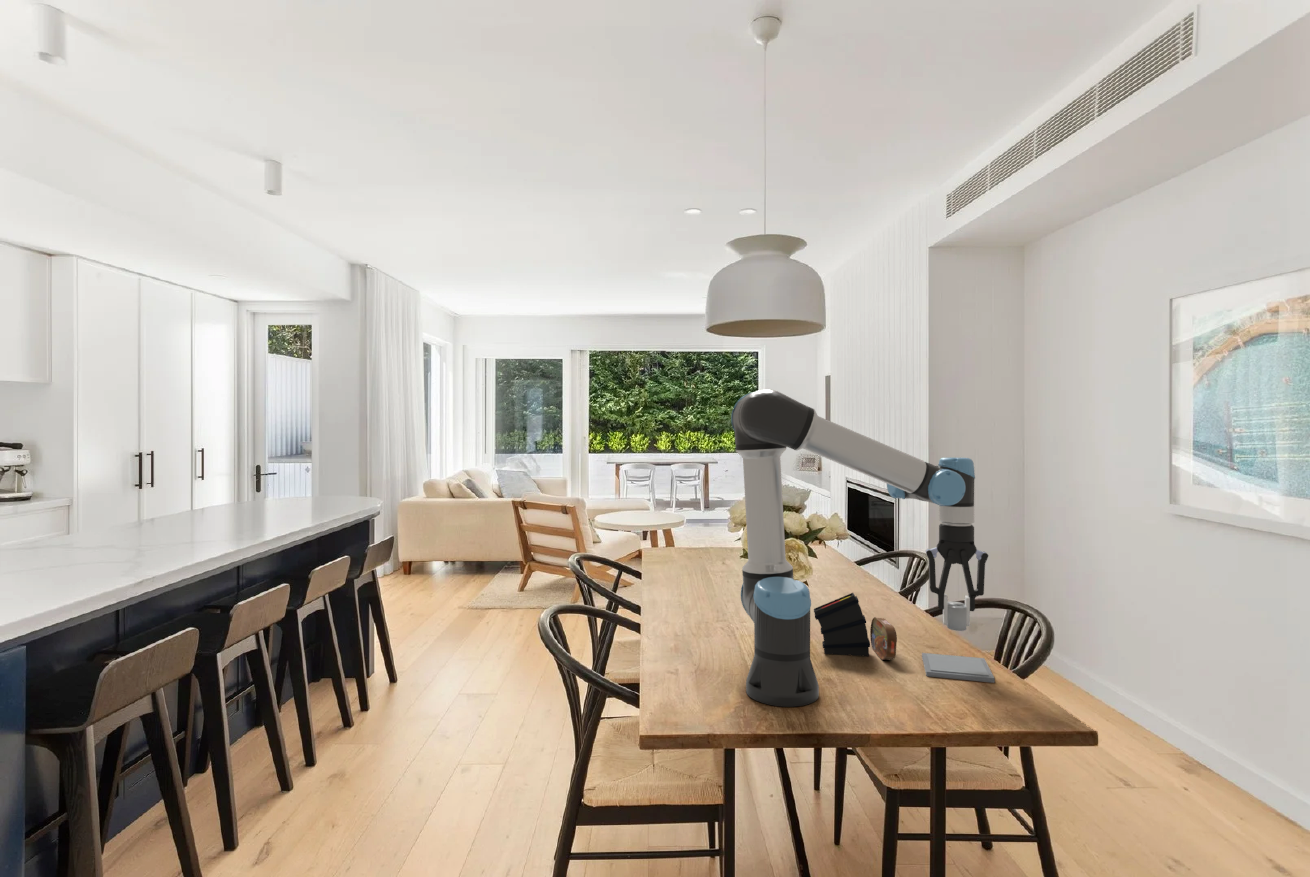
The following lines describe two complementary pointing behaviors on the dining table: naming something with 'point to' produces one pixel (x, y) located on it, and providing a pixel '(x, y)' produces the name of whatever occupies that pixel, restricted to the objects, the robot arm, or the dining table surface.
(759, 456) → the robot arm
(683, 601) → the dining table surface
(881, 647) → the tin
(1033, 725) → the dining table surface
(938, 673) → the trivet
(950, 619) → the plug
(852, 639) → the magazine
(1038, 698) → the dining table surface
